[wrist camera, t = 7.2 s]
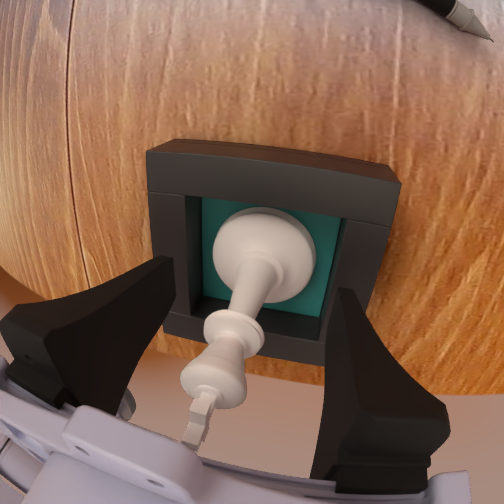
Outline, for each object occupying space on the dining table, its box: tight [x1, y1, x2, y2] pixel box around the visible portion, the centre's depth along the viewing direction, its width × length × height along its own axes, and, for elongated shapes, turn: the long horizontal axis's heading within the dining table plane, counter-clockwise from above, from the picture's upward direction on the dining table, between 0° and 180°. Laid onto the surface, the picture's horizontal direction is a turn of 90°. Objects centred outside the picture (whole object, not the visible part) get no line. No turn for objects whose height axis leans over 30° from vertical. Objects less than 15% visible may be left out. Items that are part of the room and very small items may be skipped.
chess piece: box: [180, 207, 316, 451], centre depth 11 cm, size 5×5×10 cm
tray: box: [146, 139, 402, 367], centre depth 15 cm, size 10×10×3 cm
